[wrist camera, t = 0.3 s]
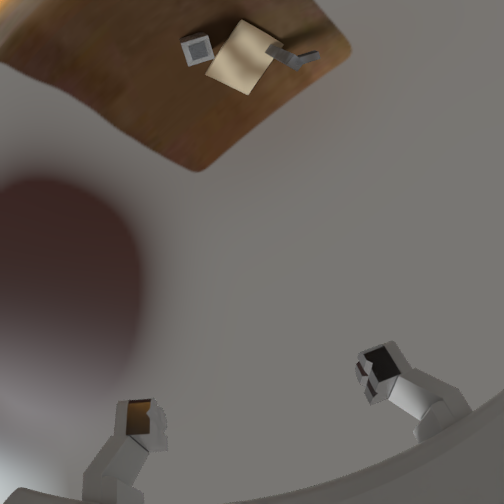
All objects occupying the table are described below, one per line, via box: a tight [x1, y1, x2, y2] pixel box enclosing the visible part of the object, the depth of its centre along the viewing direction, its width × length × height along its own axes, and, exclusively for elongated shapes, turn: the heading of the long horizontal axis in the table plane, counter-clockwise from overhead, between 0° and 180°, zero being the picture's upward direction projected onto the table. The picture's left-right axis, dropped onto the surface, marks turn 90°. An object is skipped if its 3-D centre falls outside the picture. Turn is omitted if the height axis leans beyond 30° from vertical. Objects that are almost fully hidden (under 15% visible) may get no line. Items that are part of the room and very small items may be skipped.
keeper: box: [205, 20, 320, 95], centre depth 41 cm, size 13×11×12 cm
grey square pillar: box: [179, 32, 214, 66], centre depth 38 cm, size 4×4×9 cm
